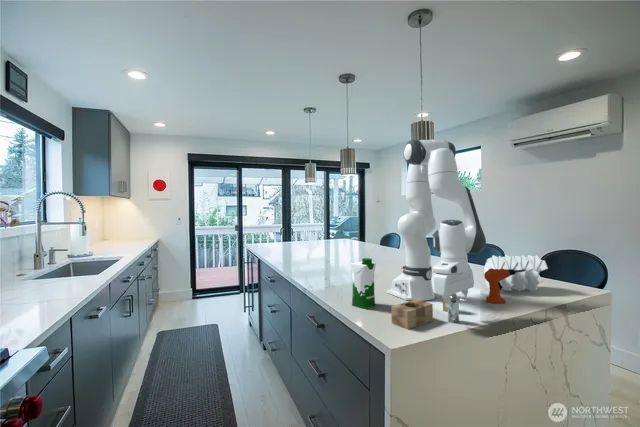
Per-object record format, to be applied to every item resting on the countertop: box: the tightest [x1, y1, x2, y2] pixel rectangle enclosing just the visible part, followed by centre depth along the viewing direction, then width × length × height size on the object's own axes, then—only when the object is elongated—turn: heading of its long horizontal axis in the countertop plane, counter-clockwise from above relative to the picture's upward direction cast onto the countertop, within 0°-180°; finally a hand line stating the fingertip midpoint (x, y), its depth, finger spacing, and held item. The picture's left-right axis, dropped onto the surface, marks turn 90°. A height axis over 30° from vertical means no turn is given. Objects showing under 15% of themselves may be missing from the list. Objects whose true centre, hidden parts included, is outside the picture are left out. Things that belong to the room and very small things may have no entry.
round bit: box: [447, 295, 460, 324], centre depth 107 cm, size 4×4×9 cm
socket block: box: [390, 299, 434, 330], centre depth 107 cm, size 7×14×6 cm, turn 125°
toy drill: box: [483, 268, 525, 304], centre depth 129 cm, size 5×19×15 cm, turn 93°
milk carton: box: [350, 257, 376, 310], centre depth 127 cm, size 9×9×20 cm
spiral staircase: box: [483, 254, 549, 293], centre depth 146 cm, size 18×18×25 cm
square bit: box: [442, 293, 457, 313], centre depth 118 cm, size 4×4×9 cm
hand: (456, 304), depth 106 cm, fingers open, 8 cm apart
